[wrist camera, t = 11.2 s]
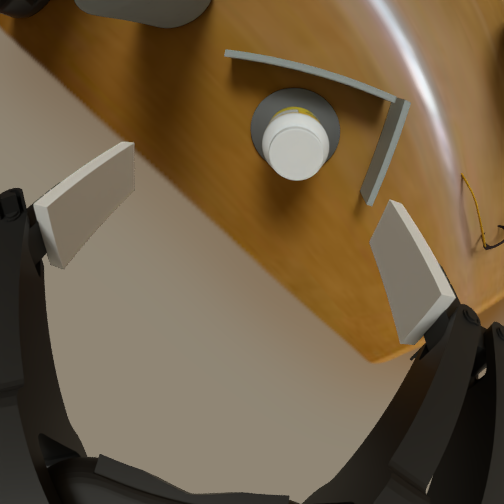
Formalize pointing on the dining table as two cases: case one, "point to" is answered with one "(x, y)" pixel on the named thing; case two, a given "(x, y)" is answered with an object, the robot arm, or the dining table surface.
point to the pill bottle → (295, 143)
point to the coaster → (296, 99)
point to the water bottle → (147, 10)
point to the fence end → (384, 149)
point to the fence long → (310, 72)
